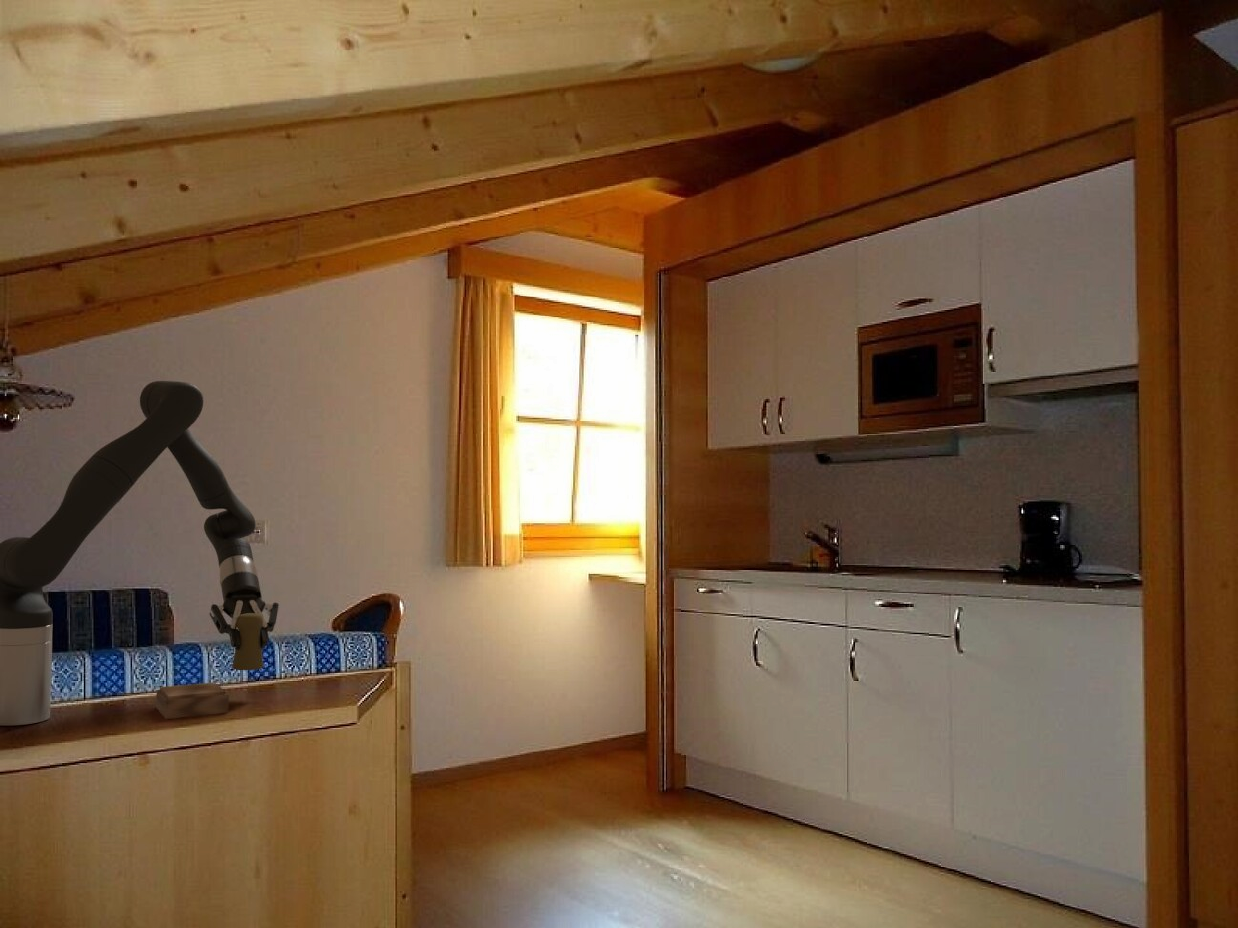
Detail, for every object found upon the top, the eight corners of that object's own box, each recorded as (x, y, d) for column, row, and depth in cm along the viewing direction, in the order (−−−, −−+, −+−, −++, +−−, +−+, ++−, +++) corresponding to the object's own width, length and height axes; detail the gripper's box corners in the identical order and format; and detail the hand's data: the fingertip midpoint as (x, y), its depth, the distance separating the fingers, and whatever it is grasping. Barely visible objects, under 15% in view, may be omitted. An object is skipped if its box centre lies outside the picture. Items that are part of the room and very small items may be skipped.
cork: (256, 670, 200) (259, 615, 200) (227, 669, 200) (229, 614, 200) (268, 665, 206) (270, 612, 206) (239, 664, 206) (241, 611, 206)
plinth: (165, 718, 184) (166, 697, 184) (156, 707, 193) (156, 686, 193) (228, 712, 190) (228, 691, 190) (216, 701, 199) (216, 681, 199)
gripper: (207, 570, 206) (217, 636, 195) (277, 569, 214) (291, 633, 203) (200, 594, 210) (210, 659, 200) (270, 592, 218) (282, 655, 208)
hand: (251, 646), depth 202 cm, fingers closed on cork, 4 cm apart
